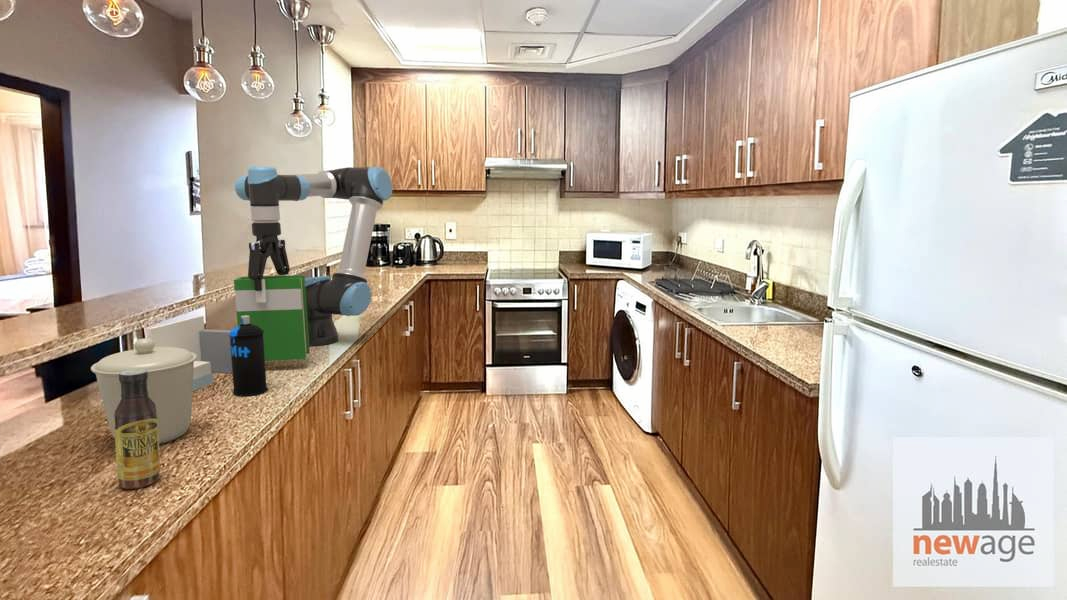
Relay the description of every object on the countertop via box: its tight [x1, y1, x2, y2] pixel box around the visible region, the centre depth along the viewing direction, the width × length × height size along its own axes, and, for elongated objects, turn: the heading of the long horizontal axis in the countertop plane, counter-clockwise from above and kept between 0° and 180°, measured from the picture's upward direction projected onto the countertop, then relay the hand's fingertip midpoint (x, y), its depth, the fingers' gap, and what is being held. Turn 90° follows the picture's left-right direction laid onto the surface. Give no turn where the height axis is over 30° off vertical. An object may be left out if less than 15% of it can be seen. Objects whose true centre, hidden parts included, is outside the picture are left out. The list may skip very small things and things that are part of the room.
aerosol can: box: [228, 316, 269, 398], centre depth 152 cm, size 8×8×20 cm
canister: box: [90, 337, 197, 445], centre depth 121 cm, size 18×18×21 cm
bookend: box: [199, 329, 233, 374], centre depth 172 cm, size 2×11×12 cm, turn 80°
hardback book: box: [233, 274, 311, 362], centre depth 174 cm, size 18×7×24 cm, turn 102°
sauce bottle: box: [114, 369, 161, 490], centre depth 102 cm, size 7×6×20 cm
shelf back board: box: [146, 315, 205, 361], centre depth 164 cm, size 19×1×16 cm, turn 170°
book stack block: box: [193, 361, 214, 392], centre depth 158 cm, size 8×11×6 cm
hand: (271, 299), depth 173 cm, fingers closed on hardback book, 9 cm apart
